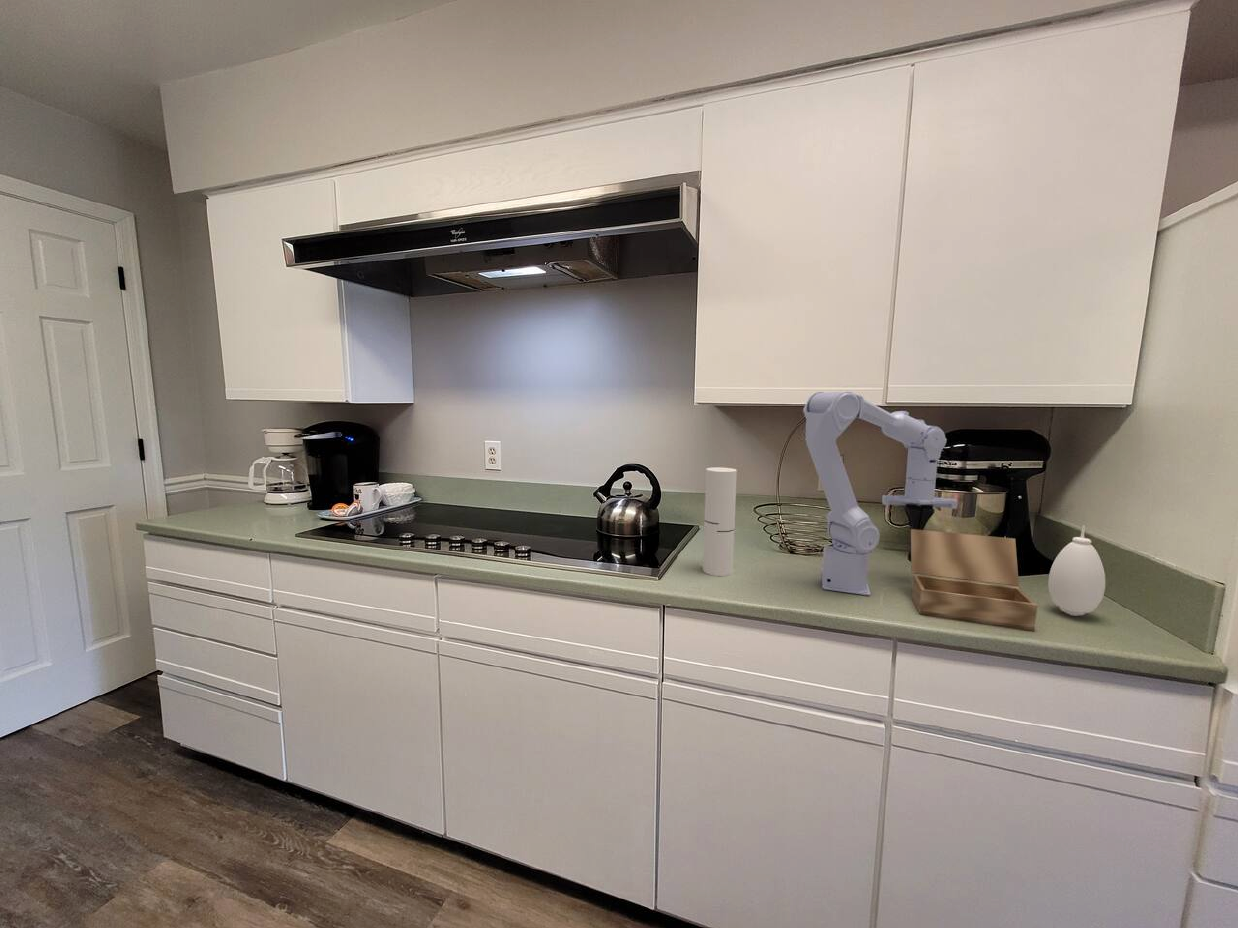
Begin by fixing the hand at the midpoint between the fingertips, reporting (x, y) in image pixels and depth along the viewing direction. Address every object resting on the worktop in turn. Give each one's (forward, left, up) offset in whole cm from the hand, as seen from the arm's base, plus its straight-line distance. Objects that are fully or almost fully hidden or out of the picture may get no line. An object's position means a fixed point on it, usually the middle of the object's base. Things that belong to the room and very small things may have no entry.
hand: (915, 537), depth 111 cm
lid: (+7, -8, -1) cm, 11 cm away
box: (+7, -15, -11) cm, 20 cm away
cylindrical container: (-43, -11, -11) cm, 46 cm away
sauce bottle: (+26, -8, -11) cm, 29 cm away
